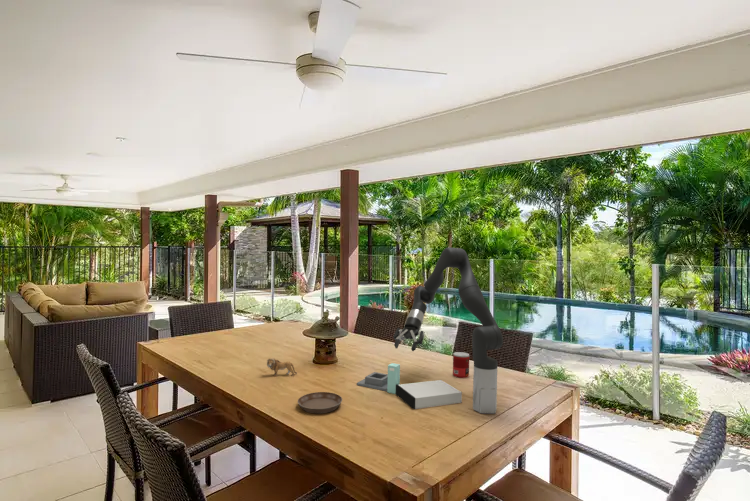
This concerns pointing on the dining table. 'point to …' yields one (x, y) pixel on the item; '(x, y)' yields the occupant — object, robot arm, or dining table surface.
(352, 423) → the dining table surface
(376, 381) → the port block
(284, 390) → the dining table surface
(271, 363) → the lion figurine
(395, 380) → the plug
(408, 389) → the disc drive
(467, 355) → the canned food
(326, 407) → the plant saucer
